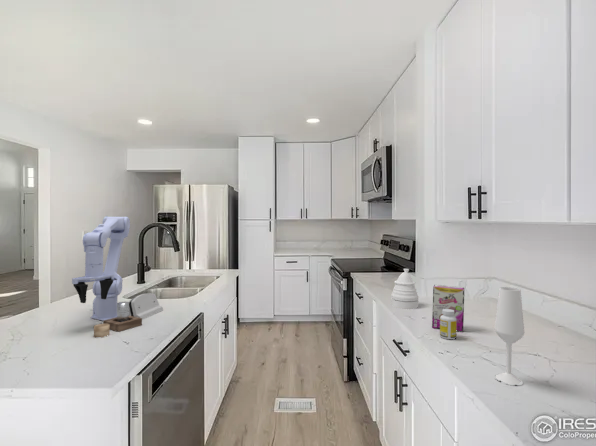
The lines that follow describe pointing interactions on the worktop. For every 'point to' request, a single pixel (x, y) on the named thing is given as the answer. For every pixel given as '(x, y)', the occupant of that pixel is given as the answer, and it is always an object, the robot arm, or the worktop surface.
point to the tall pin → (122, 311)
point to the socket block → (123, 323)
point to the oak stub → (101, 330)
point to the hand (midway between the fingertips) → (93, 300)
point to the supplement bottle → (448, 324)
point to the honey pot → (404, 292)
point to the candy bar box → (448, 304)
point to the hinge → (144, 306)
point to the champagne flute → (509, 326)
